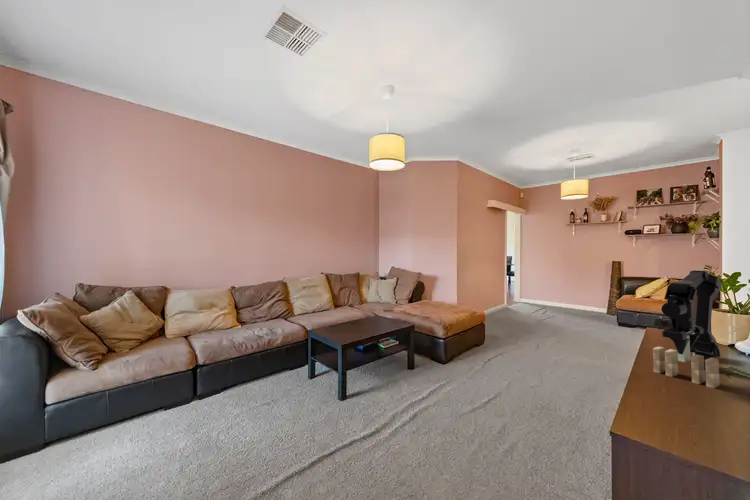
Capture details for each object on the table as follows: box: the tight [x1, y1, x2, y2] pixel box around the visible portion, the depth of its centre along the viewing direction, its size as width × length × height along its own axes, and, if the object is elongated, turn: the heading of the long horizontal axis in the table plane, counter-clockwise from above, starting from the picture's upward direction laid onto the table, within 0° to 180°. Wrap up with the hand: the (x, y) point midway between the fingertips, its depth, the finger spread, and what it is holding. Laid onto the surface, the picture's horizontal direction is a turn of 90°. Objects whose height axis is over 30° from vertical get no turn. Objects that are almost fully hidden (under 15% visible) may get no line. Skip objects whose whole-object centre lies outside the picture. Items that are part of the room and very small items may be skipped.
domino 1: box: [652, 346, 666, 375], centre depth 131 cm, size 2×5×10 cm, turn 115°
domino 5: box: [705, 357, 720, 389], centre depth 117 cm, size 2×5×10 cm, turn 115°
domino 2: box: [665, 348, 679, 378], centre depth 128 cm, size 2×5×10 cm, turn 115°
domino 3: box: [677, 335, 691, 363], centre depth 124 cm, size 2×5×10 cm, turn 115°
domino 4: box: [690, 355, 706, 385], centre depth 121 cm, size 2×5×10 cm, turn 116°
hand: (683, 352), depth 124 cm, fingers closed on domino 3, 5 cm apart
